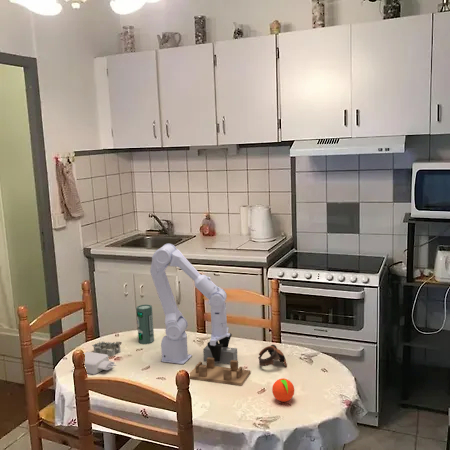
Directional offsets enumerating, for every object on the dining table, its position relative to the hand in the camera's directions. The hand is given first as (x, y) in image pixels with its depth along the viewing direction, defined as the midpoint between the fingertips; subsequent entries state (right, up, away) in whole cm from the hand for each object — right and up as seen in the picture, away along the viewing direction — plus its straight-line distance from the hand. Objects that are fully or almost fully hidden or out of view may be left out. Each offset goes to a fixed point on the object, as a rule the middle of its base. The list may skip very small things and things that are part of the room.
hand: (220, 356), depth 192 cm
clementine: (+20, -6, -31) cm, 38 cm away
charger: (-45, -4, -3) cm, 45 cm away
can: (-31, 0, +22) cm, 38 cm away
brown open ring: (+19, -2, -5) cm, 20 cm away
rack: (0, -4, -12) cm, 13 cm away
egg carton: (-45, -2, +13) cm, 47 cm away
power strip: (0, -2, 0) cm, 2 cm away
